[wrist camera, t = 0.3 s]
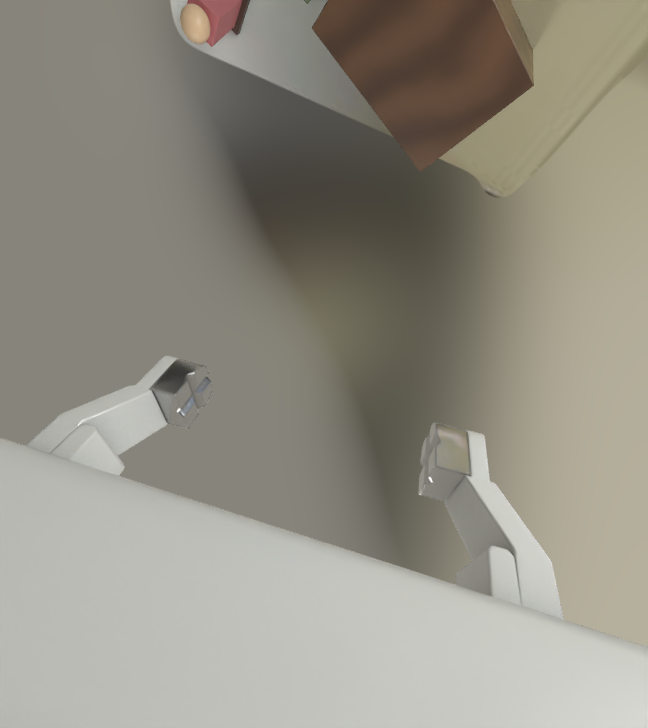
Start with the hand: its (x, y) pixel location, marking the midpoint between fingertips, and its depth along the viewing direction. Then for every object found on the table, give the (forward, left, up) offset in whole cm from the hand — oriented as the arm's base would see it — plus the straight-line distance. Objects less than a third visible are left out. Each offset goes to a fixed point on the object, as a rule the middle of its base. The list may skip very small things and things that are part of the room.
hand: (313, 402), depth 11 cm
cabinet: (+4, +1, -50) cm, 51 cm away
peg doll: (+20, -19, -50) cm, 58 cm away
